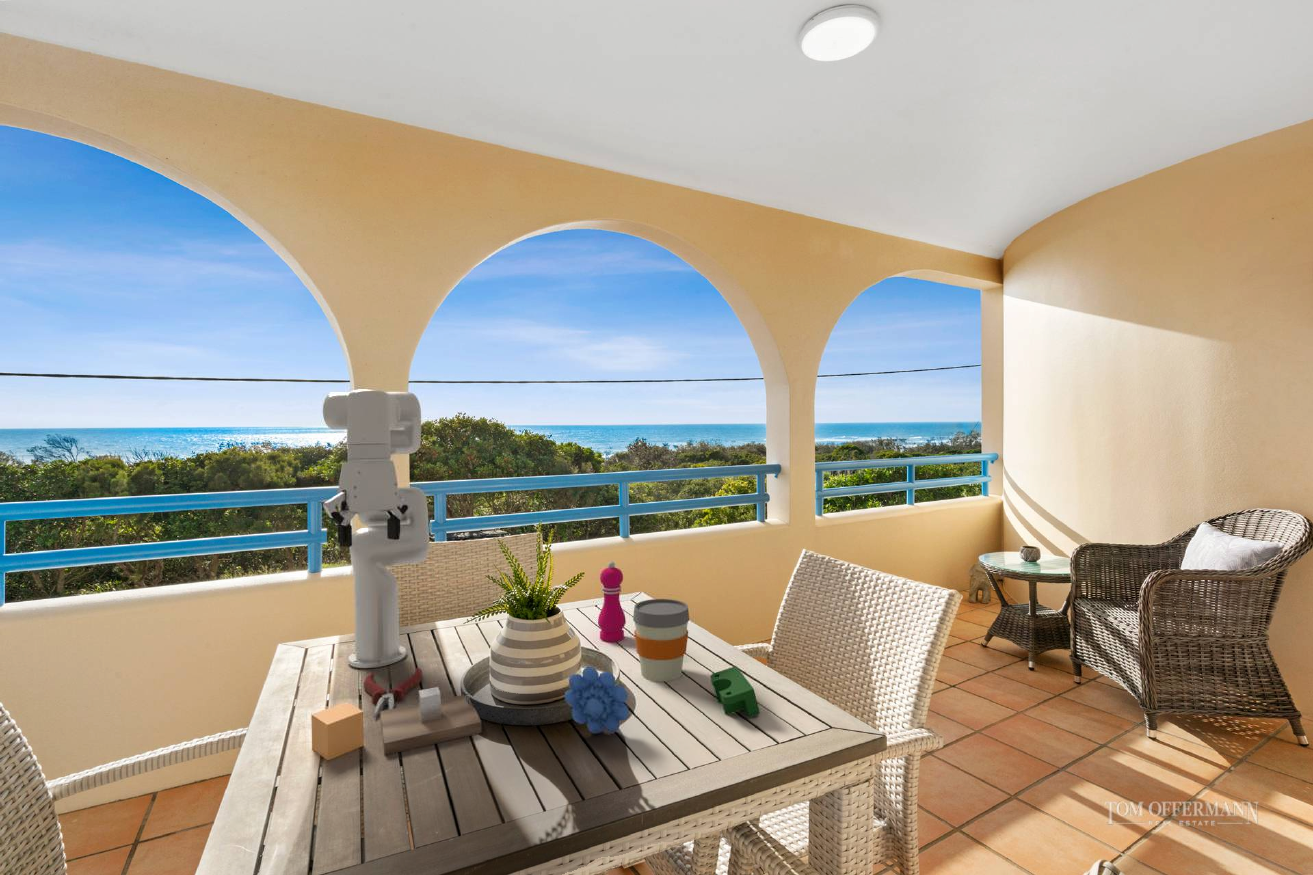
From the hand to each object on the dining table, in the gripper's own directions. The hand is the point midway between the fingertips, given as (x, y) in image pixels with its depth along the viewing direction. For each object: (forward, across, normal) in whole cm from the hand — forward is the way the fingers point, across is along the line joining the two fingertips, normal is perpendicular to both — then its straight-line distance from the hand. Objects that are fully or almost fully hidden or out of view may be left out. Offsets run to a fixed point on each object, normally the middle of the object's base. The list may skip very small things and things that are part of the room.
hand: (370, 542), depth 118 cm
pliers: (+33, -6, -6) cm, 34 cm away
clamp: (+34, -42, +56) cm, 78 cm away
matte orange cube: (+33, +10, +6) cm, 35 cm away
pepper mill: (+32, -59, +12) cm, 68 cm away
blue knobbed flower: (+34, -18, +41) cm, 56 cm away
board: (+33, -3, +14) cm, 36 cm away
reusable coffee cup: (+33, -47, +35) cm, 68 cm away
